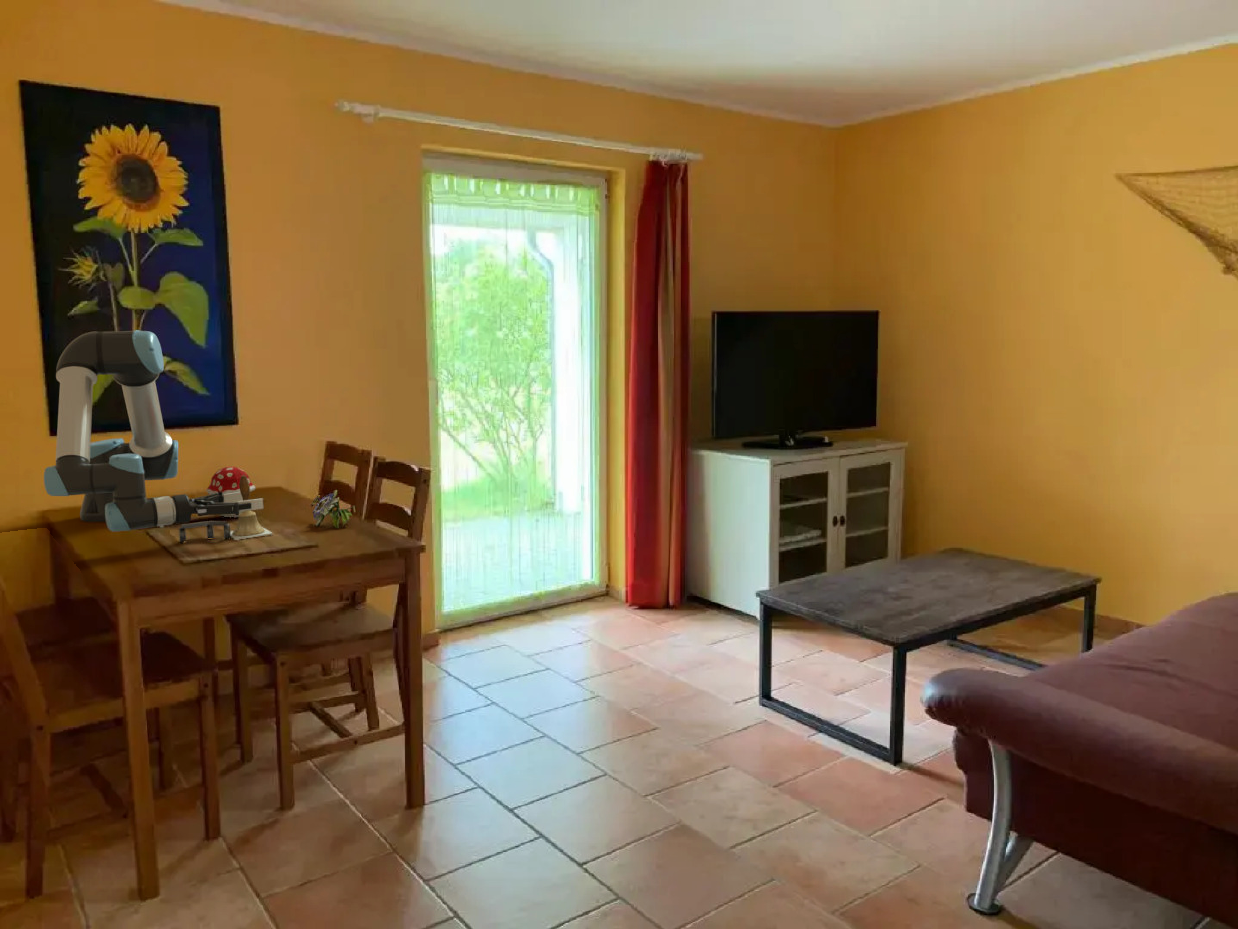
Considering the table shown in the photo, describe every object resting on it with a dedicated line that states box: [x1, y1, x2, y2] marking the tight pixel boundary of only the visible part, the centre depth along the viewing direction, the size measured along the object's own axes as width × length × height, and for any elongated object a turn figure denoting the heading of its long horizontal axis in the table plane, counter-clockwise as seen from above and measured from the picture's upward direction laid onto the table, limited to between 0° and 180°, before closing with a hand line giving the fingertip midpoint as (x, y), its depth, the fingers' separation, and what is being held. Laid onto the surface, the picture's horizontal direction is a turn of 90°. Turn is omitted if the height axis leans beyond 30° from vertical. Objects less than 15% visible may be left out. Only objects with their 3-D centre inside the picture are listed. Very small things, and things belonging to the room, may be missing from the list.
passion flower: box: [310, 489, 356, 529], centre depth 275 cm, size 11×11×12 cm
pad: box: [230, 526, 274, 541], centre depth 264 cm, size 10×10×1 cm
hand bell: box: [232, 475, 265, 536], centre depth 263 cm, size 8×8×16 cm
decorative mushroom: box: [206, 466, 256, 519], centre depth 288 cm, size 14×14×15 cm
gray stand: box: [178, 520, 232, 543], centre depth 258 cm, size 5×12×5 cm, turn 126°
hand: (255, 499), depth 264 cm, fingers open, 13 cm apart
